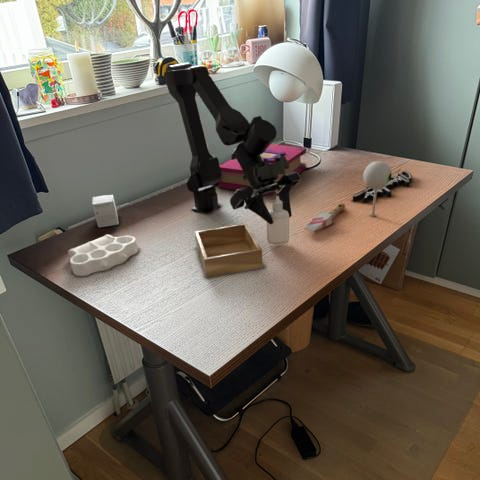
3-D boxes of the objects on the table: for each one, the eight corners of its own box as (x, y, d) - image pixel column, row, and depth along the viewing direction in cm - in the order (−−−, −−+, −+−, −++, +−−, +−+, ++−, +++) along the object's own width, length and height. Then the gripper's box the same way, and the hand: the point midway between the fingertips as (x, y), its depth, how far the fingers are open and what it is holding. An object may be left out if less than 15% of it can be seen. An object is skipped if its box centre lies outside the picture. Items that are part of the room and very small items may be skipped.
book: (214, 186, 157) (212, 164, 153) (256, 161, 176) (255, 140, 171) (269, 195, 148) (269, 171, 143) (307, 167, 166) (307, 145, 162)
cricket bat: (301, 223, 122) (336, 200, 135) (301, 233, 124) (336, 209, 137) (315, 226, 120) (349, 202, 133) (314, 236, 122) (348, 211, 135)
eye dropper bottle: (284, 246, 117) (284, 201, 110) (264, 243, 120) (263, 198, 112) (291, 239, 120) (291, 194, 113) (271, 235, 123) (270, 191, 115)
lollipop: (381, 223, 127) (387, 168, 118) (355, 218, 130) (360, 164, 121) (389, 213, 131) (396, 159, 122) (364, 209, 135) (370, 156, 126)
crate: (197, 248, 122) (194, 231, 119) (247, 239, 124) (246, 223, 121) (206, 277, 110) (204, 259, 107) (262, 267, 112) (261, 249, 109)
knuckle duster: (118, 238, 130) (148, 254, 121) (58, 263, 120) (86, 282, 111) (115, 227, 128) (146, 242, 119) (54, 251, 118) (82, 270, 109)
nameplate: (393, 168, 155) (422, 174, 149) (393, 173, 156) (421, 179, 150) (345, 194, 140) (375, 202, 134) (345, 199, 141) (374, 207, 135)
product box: (97, 228, 137) (91, 204, 132) (98, 220, 141) (91, 196, 137) (119, 224, 137) (113, 201, 133) (118, 216, 142) (113, 193, 138)
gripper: (233, 155, 105) (264, 217, 104) (296, 137, 113) (326, 194, 112) (217, 180, 115) (245, 236, 114) (277, 162, 123) (304, 215, 122)
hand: (281, 220), depth 115 cm, fingers closed on eye dropper bottle, 5 cm apart
